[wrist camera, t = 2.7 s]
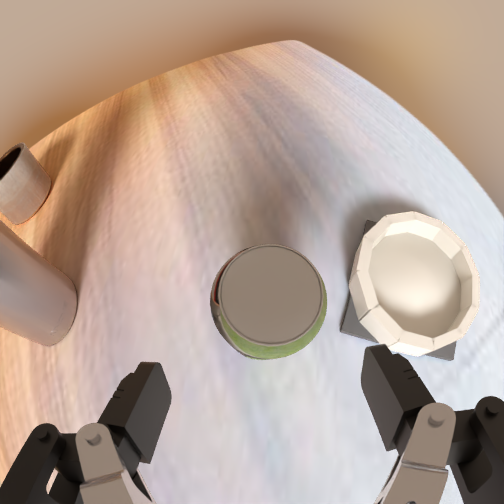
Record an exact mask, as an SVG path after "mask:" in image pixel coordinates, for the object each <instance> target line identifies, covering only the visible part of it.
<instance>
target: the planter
mask: <svg viewBox="0 0 504 504" xmlns="http://www.w3.org/2000/svg"><path fill="white" fill-rule="evenodd" d="M50 187H51V179H50V177H49V175H48V174H47V173H46V171H45V170H44V169H43V168H42V166H41V165H40V164H39V162H38V161H37V160H36V159H35V157H34V156H33V155H32V153H31V152H30V151H29V149H28V148H27V146H26V145H25V144H24V143H19V144H17V145H15V146H14V147H12V148H11V149H10V150H8V152H6V153H5V154H4V155H3V156H2V157H1V158H0V211H1V212H2V213H3V214H4V215H5V216H6V218H7V219H8V220H10V221H11V222H12V223H13V224H15V225H18V224H22V223H24V222H26V221H27V220H29V219H30V218H31V217H32V216H34V214H35V213H36V212H37V211H38V210H39V209H40V207H41V206H42V205H43V203H44V202H45V200H46V198H47V196H48V193H49V191H50Z"/></svg>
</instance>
